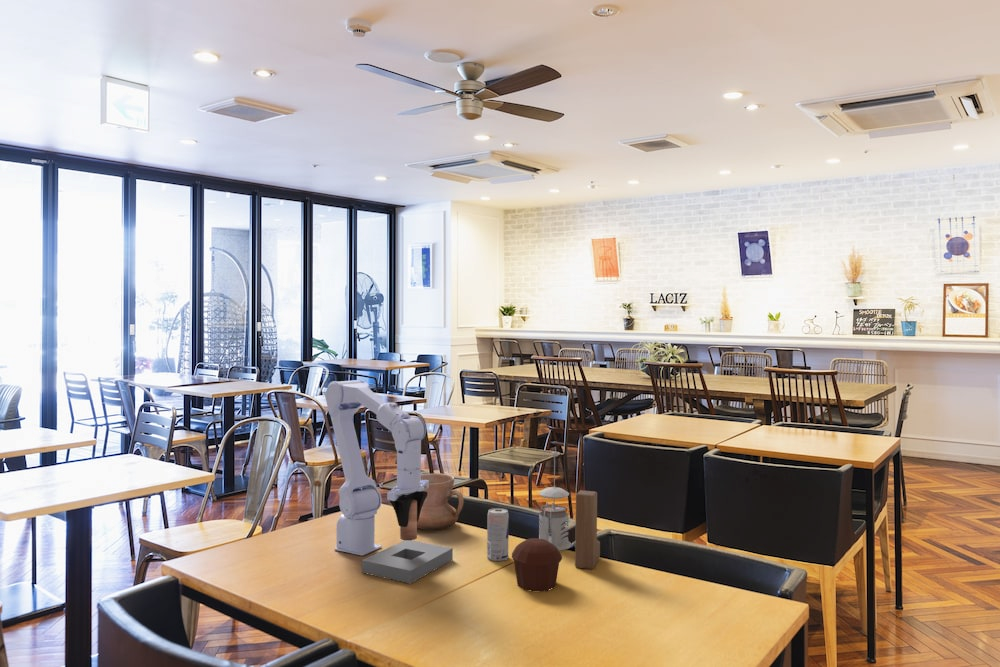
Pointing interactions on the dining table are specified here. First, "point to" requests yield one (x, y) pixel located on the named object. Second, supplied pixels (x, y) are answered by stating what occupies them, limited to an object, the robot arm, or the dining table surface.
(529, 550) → the muffin
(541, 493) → the french press
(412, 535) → the terracotta peg
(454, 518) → the ceramic jug
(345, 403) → the robot arm
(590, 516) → the wooden block
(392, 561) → the grey flat holed block
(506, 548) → the energy drink
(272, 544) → the dining table surface
